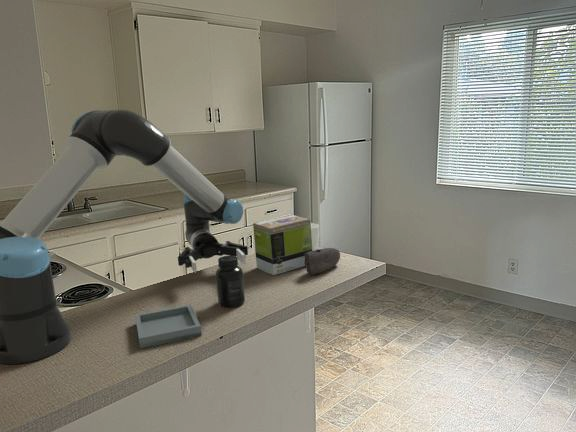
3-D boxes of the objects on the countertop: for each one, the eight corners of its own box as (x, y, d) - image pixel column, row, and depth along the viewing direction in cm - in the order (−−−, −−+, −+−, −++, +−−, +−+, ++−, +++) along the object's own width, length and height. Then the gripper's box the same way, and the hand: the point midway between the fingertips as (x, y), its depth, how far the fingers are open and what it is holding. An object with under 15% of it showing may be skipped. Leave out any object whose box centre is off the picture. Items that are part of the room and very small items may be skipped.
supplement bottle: (247, 297, 124) (244, 253, 121) (242, 308, 117) (238, 262, 114) (221, 297, 124) (217, 254, 122) (215, 308, 118) (211, 262, 115)
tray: (140, 348, 99) (139, 338, 99) (136, 323, 111) (135, 314, 111) (201, 335, 104) (200, 325, 103) (191, 313, 116) (190, 304, 115)
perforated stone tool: (333, 262, 148) (333, 241, 146) (346, 266, 144) (346, 244, 143) (298, 275, 138) (297, 252, 137) (311, 279, 135) (310, 256, 133)
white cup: (307, 260, 151) (305, 230, 149) (291, 255, 157) (289, 226, 155) (324, 254, 156) (324, 225, 154) (308, 249, 162) (307, 221, 160)
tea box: (294, 257, 155) (292, 213, 151) (313, 265, 146) (312, 218, 143) (255, 267, 146) (252, 221, 143) (272, 276, 138) (270, 227, 135)
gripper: (243, 249, 153) (264, 268, 134) (165, 261, 145) (175, 284, 125) (242, 227, 152) (262, 243, 132) (162, 238, 143) (172, 257, 124)
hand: (219, 263), depth 129 cm, fingers open, 13 cm apart
